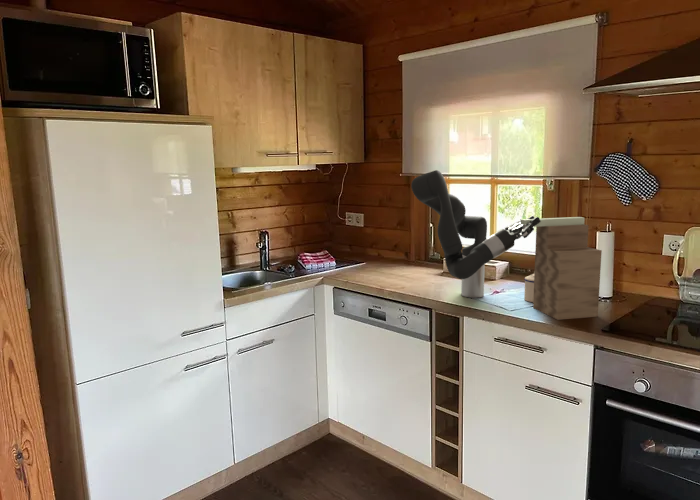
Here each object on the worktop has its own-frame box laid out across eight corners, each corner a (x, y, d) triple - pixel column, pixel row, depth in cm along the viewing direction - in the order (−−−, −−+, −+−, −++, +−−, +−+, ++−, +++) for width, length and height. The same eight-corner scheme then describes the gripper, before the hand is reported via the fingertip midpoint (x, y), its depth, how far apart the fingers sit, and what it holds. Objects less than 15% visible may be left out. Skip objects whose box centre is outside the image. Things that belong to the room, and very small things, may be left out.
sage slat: (520, 226, 193) (520, 219, 193) (579, 223, 198) (579, 216, 197) (524, 227, 190) (524, 220, 190) (584, 224, 195) (584, 217, 195)
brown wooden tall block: (533, 307, 202) (536, 224, 197) (570, 305, 205) (575, 222, 200) (557, 319, 187) (561, 229, 182) (597, 316, 190) (603, 227, 185)
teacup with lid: (542, 304, 207) (544, 275, 205) (520, 300, 213) (521, 272, 211) (553, 298, 216) (554, 270, 215) (531, 294, 222) (532, 267, 220)
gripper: (502, 237, 183) (542, 211, 185) (484, 232, 197) (522, 208, 198) (511, 255, 185) (551, 229, 187) (493, 249, 199) (530, 225, 200)
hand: (536, 218), depth 192 cm, fingers closed on sage slat, 3 cm apart
